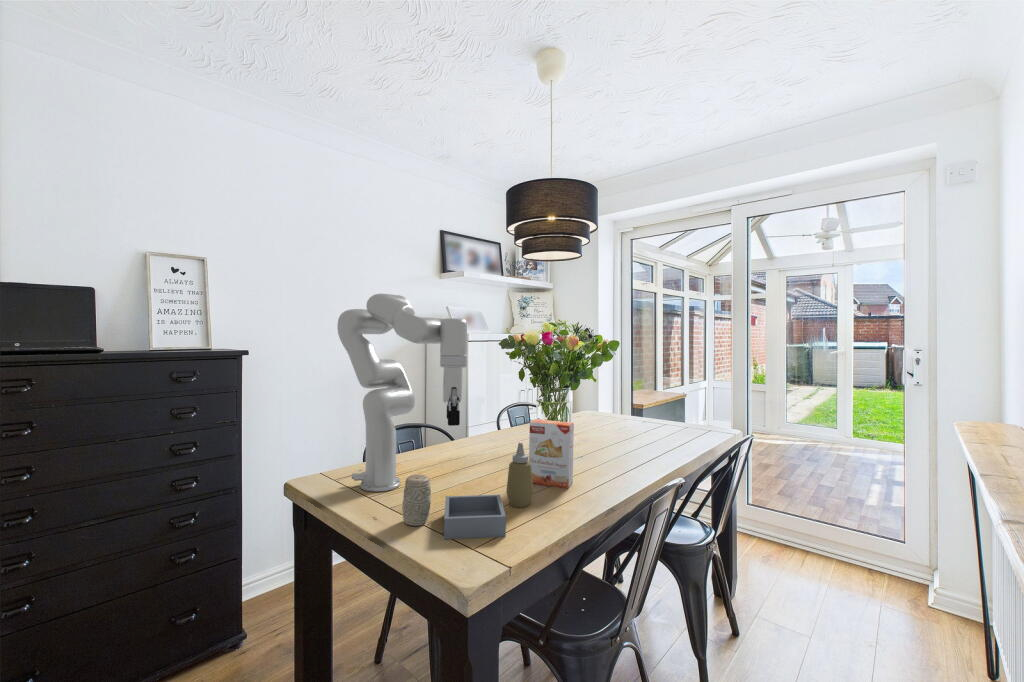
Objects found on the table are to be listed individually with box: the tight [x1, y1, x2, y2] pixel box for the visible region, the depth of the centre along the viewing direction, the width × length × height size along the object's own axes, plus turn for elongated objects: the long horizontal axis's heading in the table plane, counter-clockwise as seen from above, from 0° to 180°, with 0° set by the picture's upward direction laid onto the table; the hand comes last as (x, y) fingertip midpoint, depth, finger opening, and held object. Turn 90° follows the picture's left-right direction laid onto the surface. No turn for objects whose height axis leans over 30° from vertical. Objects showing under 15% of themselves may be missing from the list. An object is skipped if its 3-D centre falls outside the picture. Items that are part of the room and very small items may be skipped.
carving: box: [401, 474, 432, 527], centre depth 117 cm, size 6×8×12 cm
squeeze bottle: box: [506, 442, 534, 508], centre depth 130 cm, size 8×8×18 cm
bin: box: [443, 494, 507, 540], centre depth 115 cm, size 15×15×5 cm
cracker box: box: [528, 418, 575, 489], centre depth 149 cm, size 14×6×21 cm, turn 68°
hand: (452, 421), depth 126 cm, fingers open, 9 cm apart
